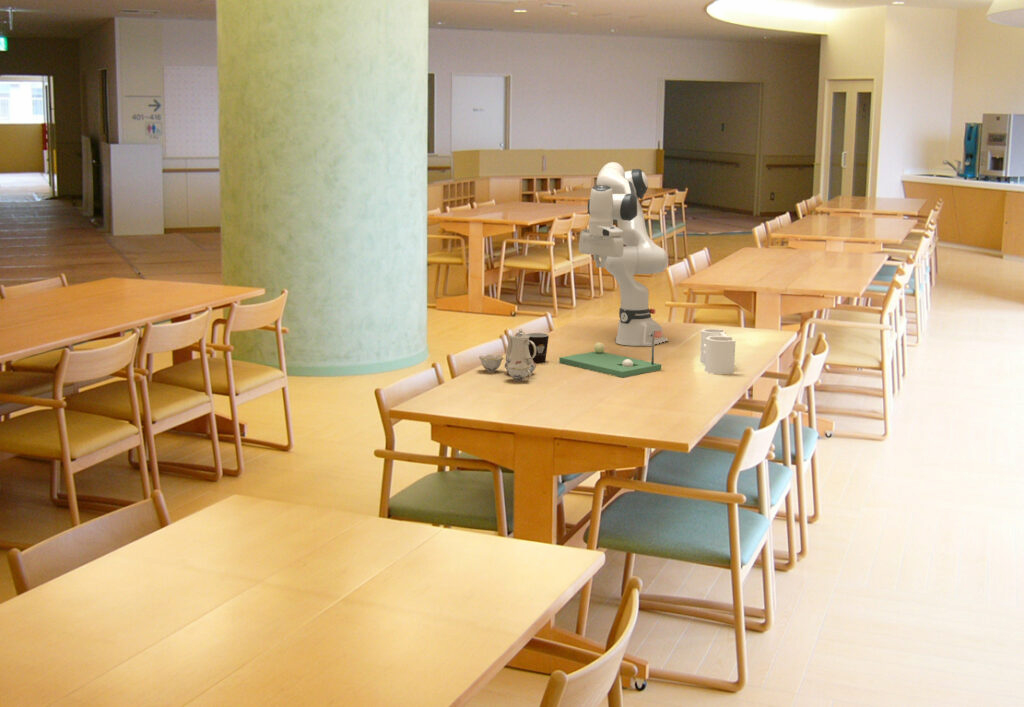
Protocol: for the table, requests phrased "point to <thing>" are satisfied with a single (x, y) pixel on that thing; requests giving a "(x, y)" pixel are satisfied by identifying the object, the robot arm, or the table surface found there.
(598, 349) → the ball
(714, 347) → the cylindrical containers
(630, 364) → the ball
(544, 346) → the coffee mug
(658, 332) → the pin
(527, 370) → the chinaware
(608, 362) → the green
